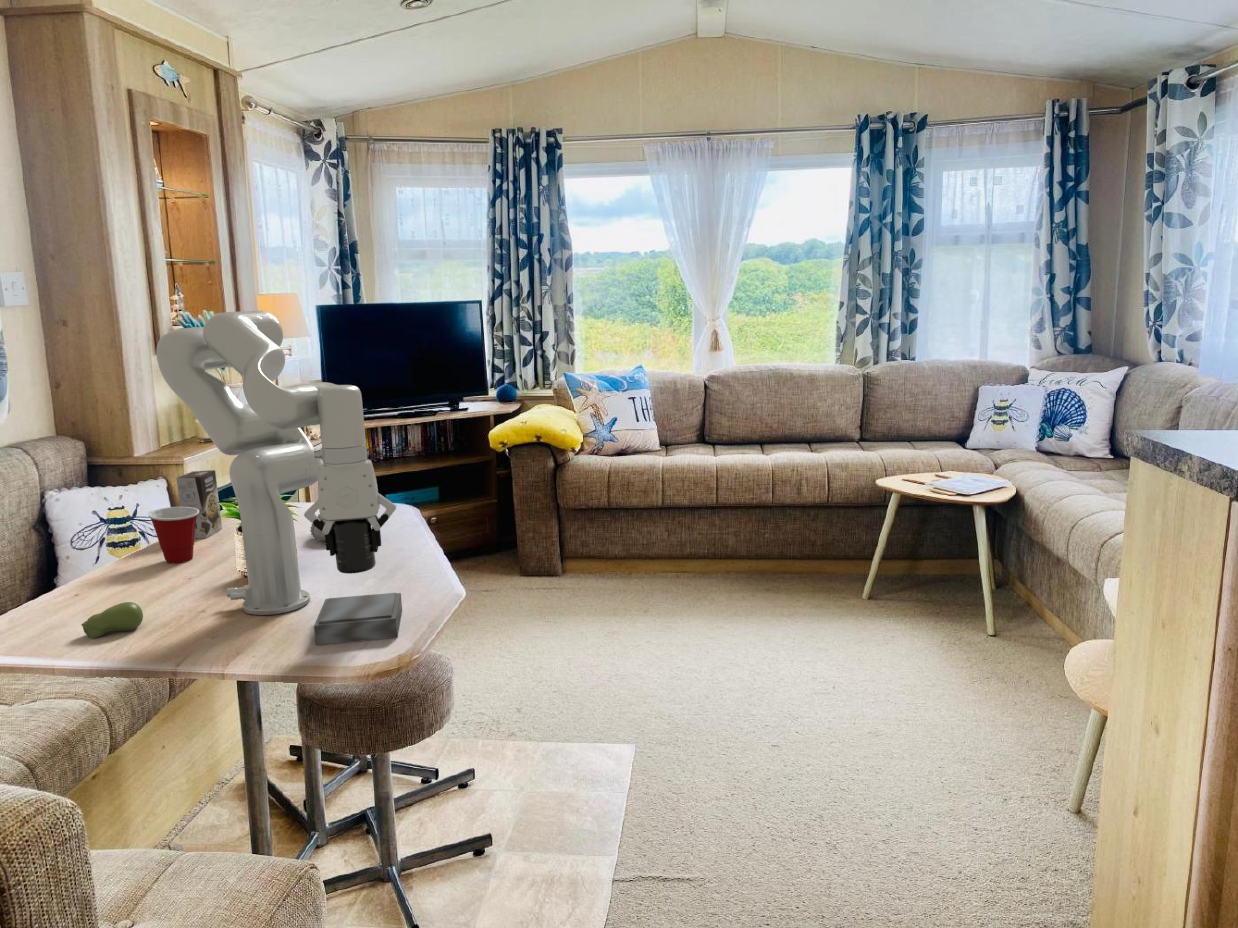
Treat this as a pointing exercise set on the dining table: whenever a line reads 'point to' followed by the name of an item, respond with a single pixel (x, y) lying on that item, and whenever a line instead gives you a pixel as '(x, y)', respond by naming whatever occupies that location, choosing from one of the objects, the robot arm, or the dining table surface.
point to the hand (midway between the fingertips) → (354, 551)
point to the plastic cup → (175, 532)
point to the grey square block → (358, 618)
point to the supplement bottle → (353, 545)
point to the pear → (114, 619)
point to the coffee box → (201, 500)
